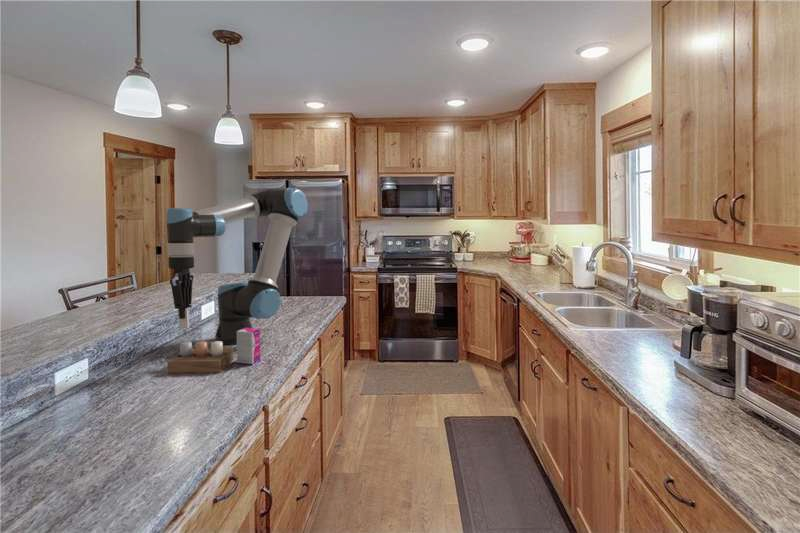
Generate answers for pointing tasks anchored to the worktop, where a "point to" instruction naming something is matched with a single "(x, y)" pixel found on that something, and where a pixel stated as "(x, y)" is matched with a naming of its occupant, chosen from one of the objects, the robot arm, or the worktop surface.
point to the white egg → (217, 348)
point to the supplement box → (248, 346)
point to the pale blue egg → (186, 349)
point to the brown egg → (201, 349)
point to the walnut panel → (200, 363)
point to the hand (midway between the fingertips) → (184, 327)
